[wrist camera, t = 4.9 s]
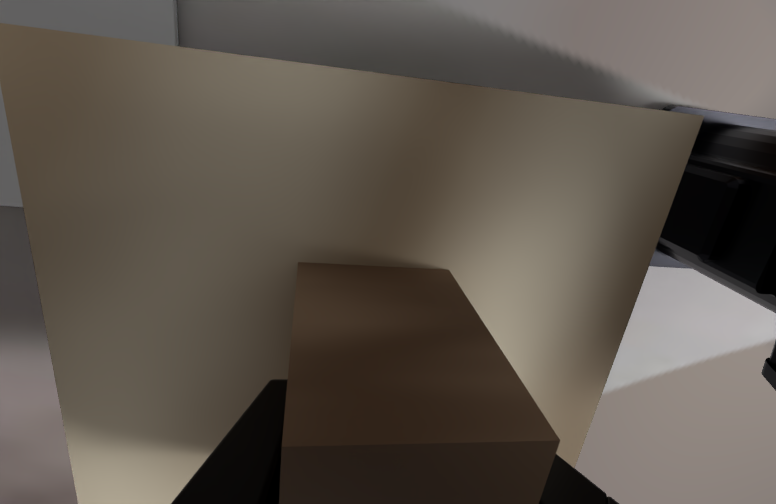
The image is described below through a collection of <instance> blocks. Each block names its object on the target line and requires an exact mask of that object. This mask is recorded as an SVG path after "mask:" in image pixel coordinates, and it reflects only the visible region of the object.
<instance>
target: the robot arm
mask: <svg viewBox="0 0 776 504" xmlns="http://www.w3.org/2000/svg"><path fill="white" fill-rule="evenodd" d="M663 110H664V111H671V112H679V113H686V114H694V115H701V116H704V118H703V121H702V124H701V126H700V129H699V132H698V134H697V137H696V140H695V143H694V145H693V148H692V151H691V153H690V156H689V159H688V162H687V164H686V167H685V170H684V172H683V175H682V178H681V181H680V183H679V186H678V189H677V191H676V194H675V197H674V199H673V202H672V205H671V208H670V210H669V213H668V216H667V218H666V221H665V224H664V227H663V229H662V232H661V235H660V237H659V240H658V243H657V246H656V248H655V251H654V254H653V256H652V259H651V262H650V265H649V266H657V267H675V268H692V269H694V270H696V271H698V272H700V273H702V274H703V275H705V276H707V277H709V278H711V279H713V280H715V281H717V282H718V283H720V284H722V285H724V286H726V287H728V288H730V289H732V290H733V291H735V292H737V293H739V294H741V295H743V296H745V297H746V298H748V299H750V300H752V301H754V302H756V303H758V304H760V305H761V306H763V307H765V308H767V309H769V310H771V311H773V312H774V313H776V119H770V118H764V117H756V116H749V115H742V114H734V113H727V112H720V111H712V110H705V109H698V108H690V107H683V106H674V105H672V106H667V107H665V108H664V109H663ZM762 375H763V376H764V377H765V378H766V380H767V381H768V382H769V383H770V384H771V385H772V387H773V388H774V389H775V390H776V341H775V344H774V348H773V350H772V353H771V356H770V358H767V359H766V360H765V364H764V367H763V370H762ZM287 380H288V379H272V380H270V381H269V382H268V383H267V384H266V386H265V387H264V388H263V389H262V391H261V392H260V393H259V394H258V396H257V397H256V398H255V399H254V401H253V402H252V403H251V404H250V406H249V407H248V408H247V409H246V411H245V412H244V413H243V414H242V416H241V417H240V418H239V419H238V421H237V422H236V423H235V424H234V426H233V427H232V428H231V429H230V431H229V432H228V433H227V434H226V435H225V437H224V438H223V439H222V440H221V442H220V443H219V444H218V445H217V447H216V448H215V449H214V450H213V452H212V453H211V454H210V455H209V457H208V458H207V459H206V460H205V462H204V463H203V464H202V465H201V467H200V468H199V469H198V470H197V472H196V473H195V474H194V475H193V477H192V478H191V479H190V480H189V482H188V483H187V484H186V485H185V487H184V488H183V489H182V490H181V492H180V493H179V494H178V495H177V497H176V498H175V499H174V500H173V502H172V503H171V504H279V494H280V472H281V449H282V437H283V426H284V414H285V403H286V392H287ZM539 504H619V503H618V502H616V501H615V500H614V499H612V498H611V497H607V496H606V493H605V492H603V491H602V490H601V489H600V488H598V487H597V486H596V485H595V484H593V483H592V482H591V481H590V480H588V479H587V478H586V477H585V476H583V475H582V474H581V473H580V472H578V471H577V470H576V469H575V468H573V467H572V466H571V465H570V464H568V463H567V462H566V461H565V460H563V459H562V458H561V457H560V456H558V455H557V454H556V455H555V458H554V460H553V463H552V466H551V469H550V472H549V475H548V478H547V481H546V484H545V487H544V490H543V493H542V495H541V498H540V501H539Z"/></svg>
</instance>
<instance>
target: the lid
mask: <svg viewBox="0 0 776 504" xmlns="http://www.w3.org/2000/svg"><path fill="white" fill-rule="evenodd" d="M0 85H1V90H2V96H3V101H4V107H5V112H6V117H7V123H8V128H9V133H10V139H11V144H12V150H13V155H14V160H15V166H16V171H17V176H18V182H19V187H20V193H21V198H22V203H23V209H24V214H25V220H26V225H27V230H28V236H29V241H30V246H31V252H32V257H33V263H34V268H35V273H36V279H37V284H38V289H39V295H40V300H41V306H42V311H43V316H44V322H45V327H46V333H47V338H48V343H49V349H50V354H51V359H52V365H53V370H54V376H55V381H56V386H57V392H58V397H59V402H60V408H61V413H62V419H63V424H64V429H65V435H66V440H67V446H68V451H69V456H70V462H71V467H72V472H73V478H74V483H75V489H76V494H77V499H78V504H171V503H172V502H173V500H174V499H175V498H176V497H177V495H178V494H179V493H180V492H181V490H182V489H183V488H184V487H185V485H186V484H187V483H188V482H189V480H190V479H191V478H192V477H193V475H194V474H195V473H196V472H197V470H198V469H199V468H200V467H201V465H202V464H203V463H204V462H205V460H206V459H207V458H208V457H209V455H210V454H211V453H212V452H213V450H214V449H215V448H216V447H217V445H218V444H219V443H220V442H221V440H222V439H223V438H224V437H225V435H226V434H227V433H228V432H229V431H230V429H231V428H232V427H233V426H234V424H235V423H236V422H237V421H238V419H239V418H240V417H241V416H242V414H243V413H244V412H245V411H246V409H247V408H248V407H249V406H250V404H251V403H252V402H253V401H254V399H255V398H256V397H257V396H258V394H259V393H260V392H261V391H262V389H263V388H264V387H265V386H266V384H267V383H268V382H269V381H270V380H272V379H288V380H287V392H286V403H285V414H284V426H283V437H282V449H281V472H280V494H279V504H539V501H540V498H541V495H542V493H543V490H544V487H545V484H546V481H547V478H548V475H549V472H550V469H551V466H552V463H553V460H554V458H555V455H556V454H557V455H558V456H560V457H561V458H562V459H563V460H565V461H566V462H567V463H568V464H570V465H571V466H572V467H573V468H575V465H576V462H577V460H578V457H579V454H580V452H581V449H582V446H583V443H584V440H585V438H586V435H587V432H588V430H589V427H590V424H591V422H592V419H593V416H594V413H595V411H596V408H597V405H598V403H599V400H600V397H601V395H602V392H603V389H604V386H605V384H606V381H607V378H608V376H609V373H610V370H611V367H612V365H613V362H614V359H615V357H616V354H617V351H618V349H619V346H620V343H621V340H622V338H623V335H624V332H625V330H626V327H627V324H628V321H629V319H630V316H631V313H632V311H633V308H634V305H635V302H636V300H637V297H638V294H639V292H640V289H641V286H642V283H643V281H644V278H645V275H646V273H647V270H648V267H649V265H650V262H651V259H652V256H653V254H654V251H655V248H656V246H657V243H658V240H659V237H660V235H661V232H662V229H663V227H664V224H665V221H666V218H667V216H668V213H669V210H670V208H671V205H672V202H673V199H674V197H675V194H676V191H677V189H678V186H679V183H680V181H681V178H682V175H683V172H684V170H685V167H686V164H687V162H688V159H689V156H690V153H691V151H692V148H693V145H694V143H695V140H696V137H697V134H698V132H699V129H700V126H701V124H702V121H703V118H704V116H701V115H694V114H686V113H679V112H671V111H664V110H656V109H648V108H641V107H633V106H626V105H618V104H611V103H603V102H595V101H588V100H580V99H573V98H565V97H558V96H550V95H542V94H535V93H527V92H520V91H512V90H505V89H497V88H489V87H482V86H474V85H467V84H459V83H452V82H444V81H437V80H429V79H421V78H414V77H406V76H399V75H391V74H384V73H376V72H368V71H361V70H353V69H346V68H338V67H331V66H323V65H315V64H308V63H300V62H293V61H285V60H278V59H270V58H262V57H255V56H247V55H240V54H232V53H225V52H217V51H209V50H202V49H194V48H187V47H179V46H172V45H164V44H156V43H149V42H141V41H134V40H126V39H119V38H111V37H103V36H96V35H88V34H81V33H73V32H66V31H58V30H50V29H43V28H35V27H28V26H20V25H13V24H5V23H0Z"/></svg>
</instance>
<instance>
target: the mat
mask: <svg viewBox="0 0 776 504" xmlns="http://www.w3.org/2000/svg"><path fill="white" fill-rule="evenodd" d="M0 23H5V24H13V25H20V26H28V27H35V28H43V29H50V30H58V31H66V32H73V33H81V34H88V35H96V36H103V37H111V38H119V39H126V40H134V41H141V42H149V43H156V44H164V45H172V46H179V42H178V20H177V0H0ZM0 206H13V207H23V203H22V198H21V193H20V187H19V182H18V176H17V171H16V166H15V160H14V155H13V150H12V144H11V139H10V133H9V128H8V123H7V117H6V112H5V107H4V101H3V96H2V90H1V85H0Z"/></svg>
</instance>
